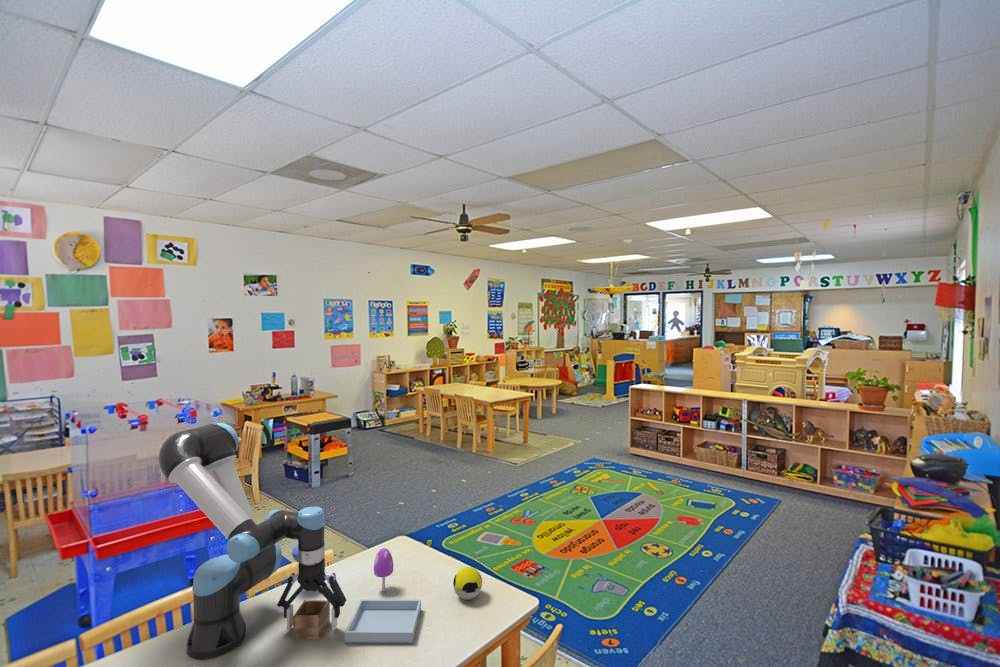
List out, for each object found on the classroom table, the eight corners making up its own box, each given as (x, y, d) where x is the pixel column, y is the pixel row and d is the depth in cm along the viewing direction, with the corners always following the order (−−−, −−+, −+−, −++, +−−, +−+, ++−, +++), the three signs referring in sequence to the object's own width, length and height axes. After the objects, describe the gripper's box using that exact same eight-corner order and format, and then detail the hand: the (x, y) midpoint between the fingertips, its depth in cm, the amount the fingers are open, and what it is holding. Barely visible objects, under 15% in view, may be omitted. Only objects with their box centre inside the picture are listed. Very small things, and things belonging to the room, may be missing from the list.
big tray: (344, 644, 137) (344, 632, 136) (360, 609, 153) (360, 599, 152) (412, 644, 137) (412, 632, 137) (421, 610, 153) (421, 599, 153)
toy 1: (388, 597, 160) (388, 554, 159) (370, 594, 161) (370, 552, 161) (396, 586, 166) (396, 545, 166) (379, 583, 168) (379, 543, 167)
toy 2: (478, 586, 166) (478, 559, 166) (485, 604, 156) (485, 575, 156) (450, 591, 164) (451, 563, 163) (456, 608, 154) (456, 579, 153)
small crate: (293, 639, 138) (293, 616, 138) (304, 621, 146) (304, 600, 146) (320, 639, 139) (320, 616, 138) (329, 621, 147) (329, 600, 146)
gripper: (264, 566, 138) (265, 635, 139) (348, 566, 138) (349, 635, 139) (276, 553, 145) (277, 619, 146) (356, 553, 146) (356, 619, 146)
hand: (312, 627), depth 142 cm, fingers open, 13 cm apart
